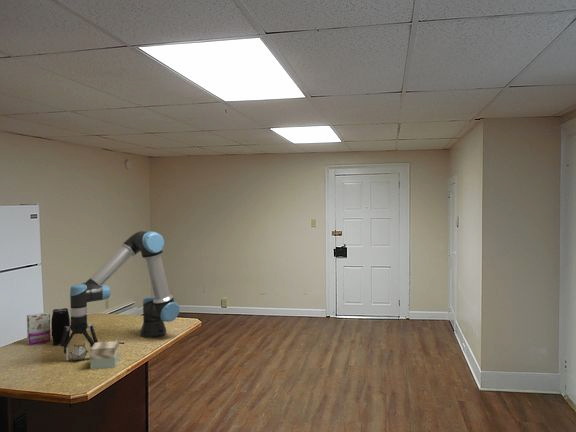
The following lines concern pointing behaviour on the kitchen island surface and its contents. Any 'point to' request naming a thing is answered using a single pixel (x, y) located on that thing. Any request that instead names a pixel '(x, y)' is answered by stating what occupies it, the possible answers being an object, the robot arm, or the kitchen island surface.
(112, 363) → the lower block
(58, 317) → the portable speaker
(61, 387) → the kitchen island surface
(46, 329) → the candy bar box
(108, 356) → the upper block
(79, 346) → the game die
